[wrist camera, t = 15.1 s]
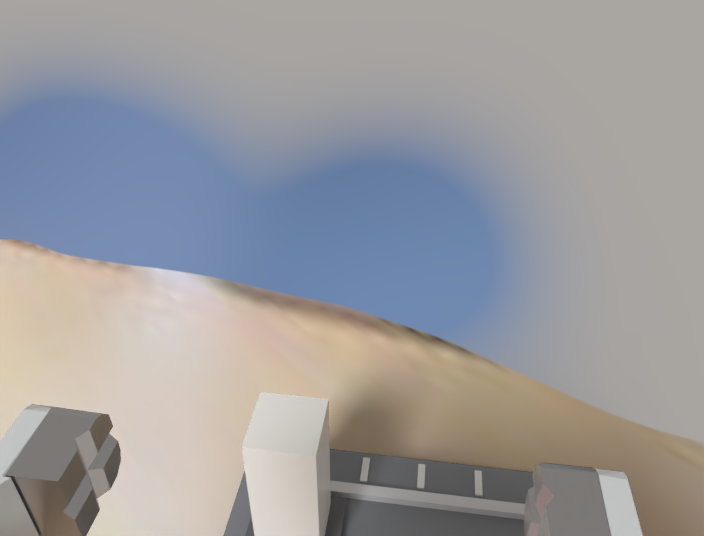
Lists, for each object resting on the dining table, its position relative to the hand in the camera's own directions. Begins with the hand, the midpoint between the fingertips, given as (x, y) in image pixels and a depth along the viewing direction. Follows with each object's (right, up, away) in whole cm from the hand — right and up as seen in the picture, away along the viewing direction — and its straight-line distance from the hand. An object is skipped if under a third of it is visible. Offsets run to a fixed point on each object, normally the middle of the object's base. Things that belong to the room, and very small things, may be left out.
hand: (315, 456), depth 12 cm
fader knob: (-3, -13, +29) cm, 32 cm away
